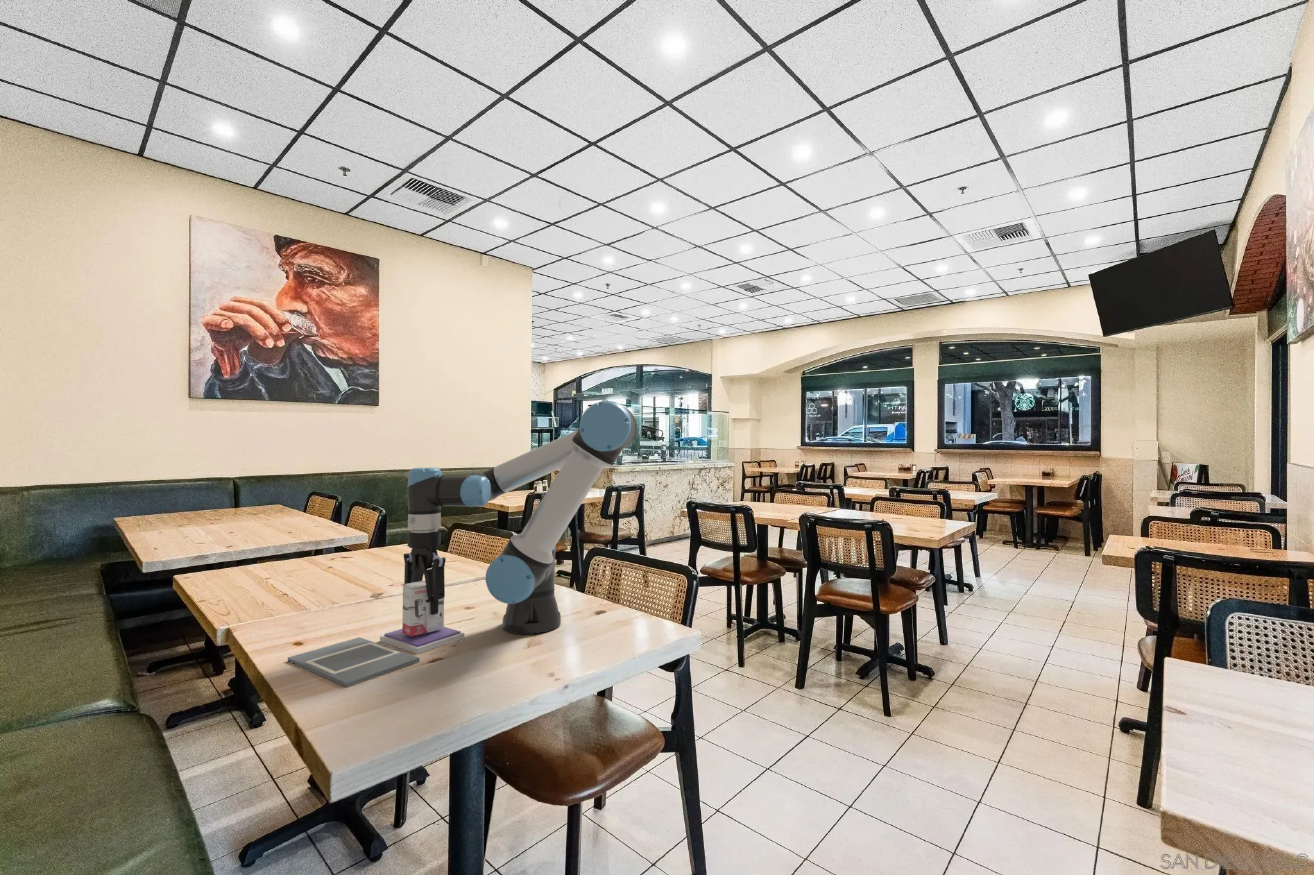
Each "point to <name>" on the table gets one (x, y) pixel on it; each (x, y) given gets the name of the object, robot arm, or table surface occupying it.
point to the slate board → (353, 661)
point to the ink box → (418, 610)
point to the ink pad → (421, 639)
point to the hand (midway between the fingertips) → (423, 624)
